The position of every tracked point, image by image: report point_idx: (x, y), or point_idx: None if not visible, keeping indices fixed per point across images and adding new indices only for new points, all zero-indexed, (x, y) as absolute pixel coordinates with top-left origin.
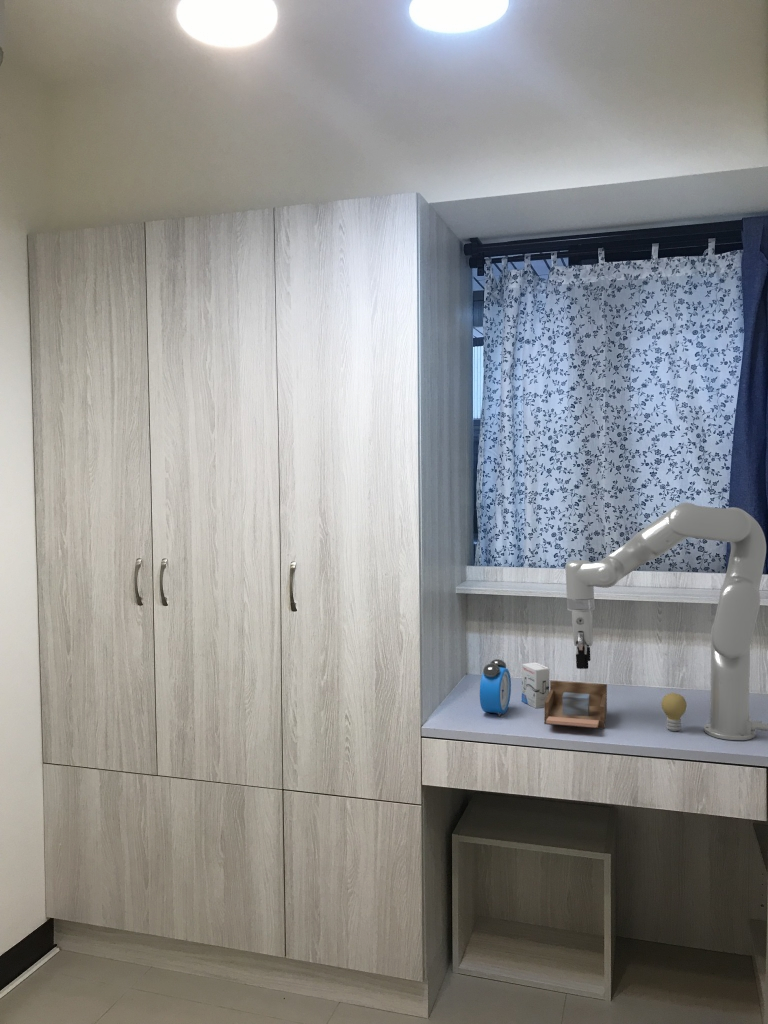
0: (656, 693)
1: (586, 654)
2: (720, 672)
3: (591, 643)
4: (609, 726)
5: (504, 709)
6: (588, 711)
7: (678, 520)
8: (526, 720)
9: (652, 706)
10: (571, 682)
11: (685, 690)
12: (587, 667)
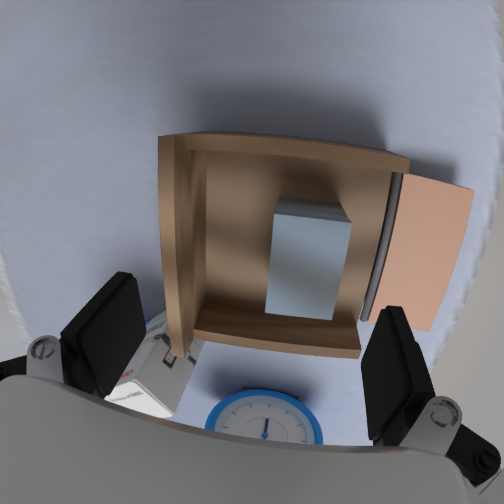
0: (17, 45)
1: (451, 399)
2: None
3: (452, 475)
4: (357, 129)
5: (272, 396)
6: (327, 204)
7: None
8: None
9: (106, 17)
10: (174, 292)
11: (4, 7)
12: (402, 313)
